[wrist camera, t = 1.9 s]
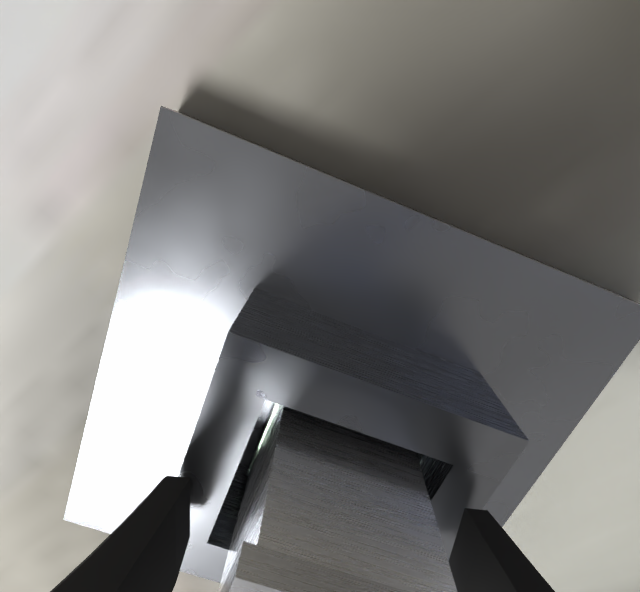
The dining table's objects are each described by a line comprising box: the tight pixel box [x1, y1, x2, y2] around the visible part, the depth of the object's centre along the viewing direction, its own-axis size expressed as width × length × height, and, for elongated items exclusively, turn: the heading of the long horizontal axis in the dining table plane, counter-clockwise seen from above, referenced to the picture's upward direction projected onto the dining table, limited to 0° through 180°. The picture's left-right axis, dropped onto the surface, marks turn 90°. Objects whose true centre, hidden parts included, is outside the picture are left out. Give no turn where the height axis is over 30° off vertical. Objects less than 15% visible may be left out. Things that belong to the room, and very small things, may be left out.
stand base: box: [64, 106, 640, 583], centre depth 13 cm, size 16×16×4 cm
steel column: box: [218, 403, 457, 592], centre depth 10 cm, size 5×5×7 cm
